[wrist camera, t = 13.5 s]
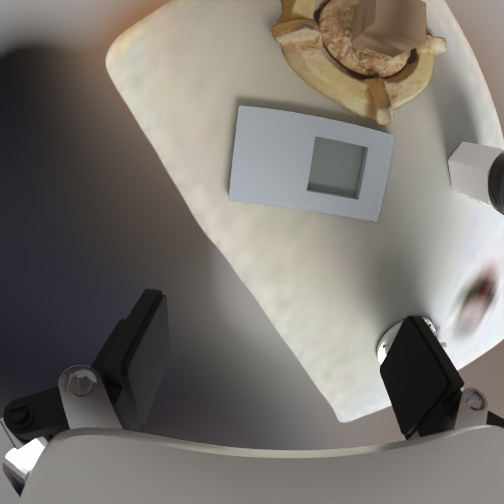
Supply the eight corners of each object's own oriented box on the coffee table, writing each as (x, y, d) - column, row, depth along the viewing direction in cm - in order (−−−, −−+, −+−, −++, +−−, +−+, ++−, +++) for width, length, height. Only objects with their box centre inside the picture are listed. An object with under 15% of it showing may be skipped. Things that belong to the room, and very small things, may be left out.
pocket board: (390, 135, 32) (395, 135, 31) (373, 218, 37) (377, 222, 36) (239, 106, 32) (238, 105, 30) (229, 197, 37) (228, 200, 35)
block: (395, 22, 22) (425, 2, 15) (392, 57, 24) (425, 43, 17) (354, 7, 22) (376, -19, 15) (350, 43, 24) (374, 21, 17)
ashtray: (457, 94, 29) (476, 93, 24) (329, 145, 34) (339, 148, 29) (382, -34, 21) (394, -48, 16) (242, 1, 26) (239, -15, 21)
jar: (440, 185, 34) (491, 208, 23) (452, 135, 31) (505, 144, 20) (477, 200, 35) (524, 226, 24) (487, 155, 31) (538, 170, 20)
